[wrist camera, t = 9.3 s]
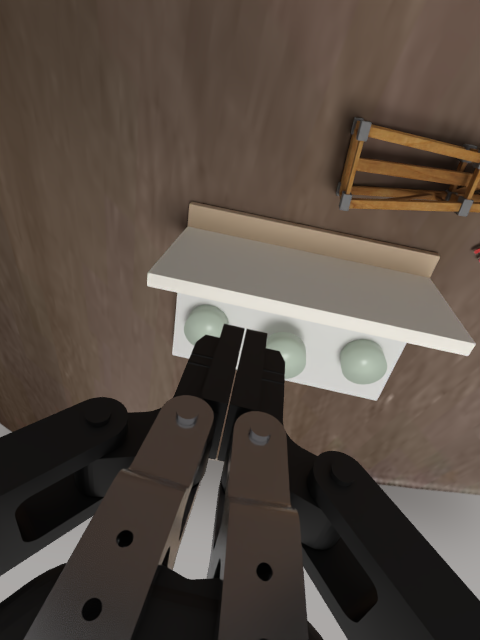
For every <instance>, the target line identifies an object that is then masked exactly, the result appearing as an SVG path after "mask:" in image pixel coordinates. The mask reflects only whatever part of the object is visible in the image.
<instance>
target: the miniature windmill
mask: <svg viewBox="0 0 480 640" xmlns="http://www.w3.org/2000/svg"><path fill="white" fill-rule="evenodd" d="M363 120H364V119H363V118H357V117H354V121H353V125H352V129H351V134H352V138H351V142H350V146H349V150H348V154H347V158H346V163H345V167H344V171H343V175H342V179H341V182H338V186H337V191H336V196H340V204H339V209H340V210H344V211H348V210H349V208H359V209H391V210H422V211H454V212H455V213H456V214H457V215H460V216H466V217H467V215H468V213H469V212H480V194H479V193H474V191H475V190H480V149H479V150H477V146H474V145H469V144H463V147H461V146H457V145H453V144H449V143H445V142H441V141H437V140H433V139H429V138H425V137H421V136H417V135H413V134H409V133H405V132H401V131H397V130H393V129H389V128H385V127H380V126H376V125H372V122H369V121H363ZM368 137H372V138H376V139H380V140H384V141H388V142H392V143H397V144H401V145H405V146H409V147H413V148H417V149H422V150H426V151H430V152H434V153H438V154H442V155H447V156H451V157H455V158H458V159H457V160H459V161H460V163H459V165H458V167H457V170H456V171H454V170H447V169H440V168H433V167H426V166H419V165H411V164H404V163H397V162H390V161H383V160H376V159H369V158H362V157H360V154H361V150H362V146H363V142H364V141H366V142H367V139H368ZM471 162H474V163H473V165H472V166H473V167H475V170H474V173H468V172H464V169H465V167H466V165H467V163H471ZM356 171H362V172H369V173H376V174H383V175H390V176H397V177H404V178H411V179H418V180H424V181H431V182H438V183H445V184H451V185H450V187H449V190H447V189H446V190H445V191H432V190H416V189H400V188H384V187H369V186H353V185H352V184H353V180H354V177H355V173H356ZM458 185H459V186H465V187H461V188H457V186H458ZM352 194H354V195H369V196H383V197H396V198H389V199H361V198H352ZM412 199H427V200H412ZM428 200H438V201H428ZM478 252H479V253H480V248H478V249H477V250H475V251H474V253H475V254H476V253H478ZM478 260H479V262H480V259H478Z"/></svg>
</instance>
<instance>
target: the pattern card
mask: <svg viewBox="0 0 480 640" xmlns="http://www.w3.org/2000/svg"><path fill="white" fill-rule="evenodd" d="M439 258H440V256H439V255H438V253H435V252H430V251H425V250H420V249H416V248H411V247H406V246H401V245H397V244H392V243H387V242H382V241H377V240H373V239H368V238H363V237H358V236H354V235H349V234H344V233H339V232H335V231H330V230H325V229H320V228H316V227H311V226H306V225H301V224H296V223H292V222H287V221H282V220H277V219H273V218H268V217H263V216H258V215H254V214H249V213H244V212H239V211H235V210H230V209H225V208H220V207H216V206H211V205H206V204H201V203H196V202H191V203H190V205H189V216H188V227H187V228H186V229H185V230H184V231H183V232H182V233H181V235H180V236H179V237H178V238H177V239H176V240H175V242H174V243H173V244H172V245H171V246H170V247H169V249H168V250H167V251H166V252H165V253H164V254H163V256H162V257H161V258H160V259H159V260H158V261H157V262H156V264H155V265H154V266H153V267H152V268H151V269H150V271H149V272H148V279H147V286H150V287H154V288H159V289H163V290H168V291H173V292H177V293H182V294H186V295H191V296H195V297H200V298H205V299H209V300H214V301H218V302H223V303H227V304H232V305H237V306H241V307H246V308H250V309H255V310H259V311H264V312H269V313H273V314H278V315H282V316H287V317H292V318H296V319H301V320H305V321H310V322H314V323H319V324H324V325H328V326H333V327H337V328H342V329H346V330H351V331H356V332H360V333H365V334H369V335H374V336H379V337H383V338H388V339H392V340H397V341H401V342H406V343H411V344H415V345H420V346H424V347H429V348H433V349H438V350H443V351H447V352H452V353H456V354H461V355H465V356H468V355H469V354H470V352H471V351H472V349H473V348H474V346H475V345H476V343H475V342H474V340H473V339H472V338H471V336H470V335H469V333H468V332H467V330H466V329H465V328H464V326H463V325H462V323H461V322H460V320H459V319H458V318H457V316H456V315H455V313H454V312H453V310H452V309H451V308H450V306H449V305H448V303H447V302H446V300H445V299H444V298H443V296H442V295H441V293H440V292H439V290H438V289H437V287H436V286H435V285H434V283H433V282H432V280H431V279H430V276H431V274H432V272H433V270H434V268H435V266H436V264H437V262H438V260H439Z"/></svg>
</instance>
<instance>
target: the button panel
mask: <svg viewBox="0 0 480 640" xmlns="http://www.w3.org/2000/svg"><path fill="white" fill-rule="evenodd" d="M201 305H211V306H215V307H217V308H219V309H220V310H222V311H223V312H224V313H225V315H226V316H227V318H228V321H229V325H233V326H237V327H242V328H245V330H244V334H243V339H242V343H241V348H240V352H239V357H238V361H237V366H236V369H238V364H239V360H240V356H241V351H242V347H243V343H244V338H245V334H246V330H247V329H251V330H255V331H260V332H264V333H267V338H268V337H269V336H271V335H272V334H275V333H279V332H288V333H292V334H294V335H296V336H298V337H299V338H300V339H301V340H302V341H303V342H304V344H305V347H306V366H305V368H304V370H303V371H302V372H301V373H300V374H299V375H297V376H295V377H293V378H289V379H285V380H287V381H291V382H296V383H300V384H304V385H309V386H313V387H318V388H322V389H327V390H331V391H336V392H340V393H345V394H349V395H354V396H358V397H362V398H367V399H371V400H376V401H377V399H378V397H379V395H380V393H381V392H382V390H383V388H384V386H385V384H386V382H387V380H388V378H389V376H390V374H391V372H392V370H393V368H394V366H395V364H396V362H397V360H398V359H399V357H400V355H401V353H402V351H403V349H404V347H405V345H406V342H401V341H397V340H392V339H388V338H383V337H379V336H374V335H369V334H365V333H360V332H356V331H351V330H346V329H342V328H337V327H333V326H328V325H324V324H319V323H314V322H310V321H305V320H301V319H296V318H292V317H287V316H282V315H278V314H273V313H269V312H264V311H259V310H255V309H250V308H246V307H241V306H237V305H232V304H227V303H223V302H218V301H214V300H209V299H205V298H200V297H195V296H191V295H186V294H182V293H177V304H176V316H175V328H174V340H173V352H172V355H175V356H180V357H184V358H190V355H191V353H192V350H193V348H194V345H192V344H191V343H190V342H189V341H188V340H187V338H186V336H185V334H184V325H185V323H186V321H187V319H188V317H189V315H190V313H191V311H192V310H193V309H195V308H196V307H198V306H201ZM356 340H370V341H373V342H375V343H377V344H378V345H379V346H380V347H381V348H382V350H383V353H384V356H385V359H386V362H387V371H386V373H385V375H384V376H383V377H382V378H381V379H380V380H378V381H376V382H374V383H371V384H363V385H362V384H356V383H353V382H351V381H349V380H347V379H346V378H345V377H344V375H343V373H342V369H341V362H340V354H341V351H342V349H343V348H344V347H345V346H346V345H347V344H349V343H351V342H353V341H356Z"/></svg>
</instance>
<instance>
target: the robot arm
mask: <svg viewBox="0 0 480 640" xmlns="http://www.w3.org/2000/svg"><path fill="white" fill-rule="evenodd" d="M244 330H245V328H242V327H237V326H233V325H229V324H224V325H223V329H222V332H221V335H220V338H219V337H215V336H210V335H204V336H203V337H202V338H200V339H199V340H198V341H197V342H196V343H195V345H194V348H193V350H192V353H191V355H190V358H189V360H188V363H187V365H186V368H185V370H184V373H183V375H182V378H181V380H180V383H179V385H178V387H177V390H176V392H175V395H174V397H173V398H172V399H170V400H169V401H167V402H166V403H165V404H164V405H163V407H162V408H160V409H157V410H154V411H150V412H134V413H128V412H127V410H126V408H125V406H124V405H123V404H122V403H120V402H119V401H117V400H115V399H112V398H106V397H98V398H92V399H89V400H86V401H83V402H81V403H79V404H77V405H74V406H72V407H70V408H67V409H65V410H63V411H60V412H58V413H56V414H53V415H51V416H49V417H46V418H44V419H42V420H40V421H37V422H35V423H33V424H30V425H28V426H26V427H23V428H21V429H19V430H16V431H14V432H12V433H10V434H7V435H5V436H3V437H0V576H1V575H3V574H4V573H6V572H7V571H9V570H10V569H12V568H13V567H15V566H16V565H18V564H19V563H21V562H23V561H24V560H26V559H27V558H29V557H30V556H32V555H33V554H35V553H36V552H38V551H39V550H41V549H43V548H44V547H46V546H47V545H49V544H50V543H52V542H53V541H55V540H56V539H58V538H59V537H61V536H62V535H64V534H66V533H67V532H69V531H70V530H72V529H73V528H75V527H76V526H78V525H79V524H81V523H82V522H84V521H86V520H87V519H89V518H90V517H92V516H93V515H94V516H93V517H92V519H91V521H90V523H89V525H88V526H87V528H86V530H85V532H84V533H83V535H82V537H81V539H80V541H79V542H78V544H77V546H76V548H75V549H74V551H73V553H72V555H71V556H70V558H69V560H68V562H67V563H65V564H62V565H59V566H57V567H55V568H53V569H50V570H48V571H46V572H45V573H43V574H41V575H39V576H38V577H36V578H34V579H33V580H31V581H30V582H28V583H27V584H26V585H24V586H23V587H22V588H20V589H19V590H17V591H16V592H15V593H13V594H12V595H11V596H9V597H8V598H7V599H5V600H4V601H2V602H1V603H0V640H323V639H322V637H321V635H320V634H319V633H318V632H317V631H316V630H315V628H314V627H313V626H312V625H311V624H310V623H309V622H308V621H307V612H306V599H305V585H304V571H303V567H304V568H305V570H306V572H307V573H308V575H309V577H310V578H311V580H312V581H313V583H314V585H315V586H316V588H317V590H318V591H319V593H320V595H321V596H322V598H323V599H324V601H325V603H326V604H327V606H328V608H329V609H330V611H331V612H332V614H333V616H334V618H335V619H336V621H337V622H338V624H339V626H340V627H341V629H342V631H343V632H344V634H345V635H346V637H347V639H348V640H480V601H479V600H478V598H477V597H476V596H475V595H474V594H473V593H472V591H470V589H469V588H468V587H467V586H466V585H465V584H464V582H463V581H462V580H461V579H460V578H459V577H458V576H457V574H456V573H455V572H454V571H453V570H452V569H451V568H450V566H449V565H448V564H447V563H446V562H445V561H444V560H443V558H442V557H441V556H440V555H439V554H438V553H437V552H436V550H435V549H434V548H433V547H432V546H431V545H430V544H429V542H428V541H427V540H426V539H425V538H424V537H423V536H422V534H421V533H420V532H419V531H418V530H417V529H416V528H415V526H414V525H413V524H412V523H411V522H410V521H409V520H408V518H407V517H406V516H405V515H404V514H403V513H402V512H401V510H400V509H399V508H398V507H397V506H396V505H395V504H394V502H393V501H392V500H391V499H390V498H389V497H388V496H387V494H386V493H385V492H384V491H383V490H382V489H381V488H380V487H379V485H378V484H377V483H376V482H375V481H374V480H373V479H372V477H371V476H370V475H369V474H368V473H367V472H366V471H365V469H364V468H363V467H362V466H361V465H360V464H359V463H358V462H357V461H356V460H355V459H353V458H352V457H350V456H349V455H346V454H344V453H341V452H337V451H327V452H324V453H322V454H320V455H319V456H316V455H314V454H312V453H310V452H308V451H307V450H305V449H303V448H301V447H300V446H298V445H297V444H296V443H294V442H293V441H292V440H291V439H290V437H289V436H288V435H287V433H286V431H285V429H284V426H283V403H284V381H285V376H284V375H285V361H284V359H283V357H282V355H281V353H280V351H277V350H272V349H268V348H266V343H267V333H264V332H260V331H255V330H251V329H247V330H246V334H245V338H244V343H243V347H242V351H241V356H240V360H239V364H238V369H237V373H236V378H235V382H234V387H233V391H232V396H231V401H230V405H229V410H228V414H227V419H226V424H225V428H224V433H223V437H222V442H221V447H220V451H219V456H218V460H220V461H224V466H223V471H222V476H221V480H220V485H219V489H218V498H217V506H216V514H215V523H214V531H213V540H212V549H211V556H210V563H209V568H208V574H207V579H196V580H190V579H187V578H185V577H183V576H181V575H179V574H178V573H176V572H174V571H173V567H174V564H175V560H176V556H177V553H178V549H179V546H180V543H181V540H182V537H183V534H184V531H185V528H186V525H187V522H188V519H189V516H190V513H191V510H192V507H193V504H194V501H195V498H196V495H197V492H198V489H199V486H200V483H201V480H202V478H203V476H204V474H205V471H206V467H207V463H208V459H209V458H210V459H216V454H217V450H218V446H219V441H220V437H221V432H222V428H223V424H224V419H225V415H226V410H227V406H228V402H229V397H230V393H231V388H232V384H233V379H234V375H235V370H236V366H237V361H238V357H239V352H240V348H241V343H242V339H243V334H244Z"/></svg>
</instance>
